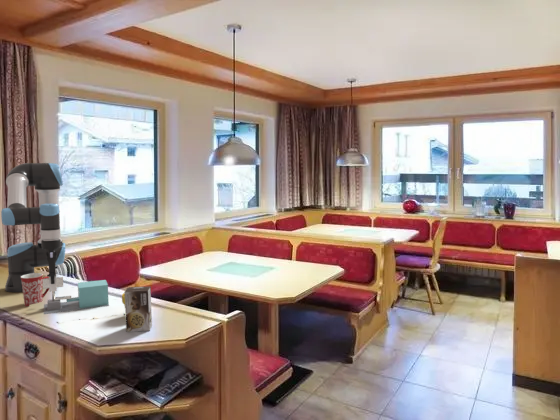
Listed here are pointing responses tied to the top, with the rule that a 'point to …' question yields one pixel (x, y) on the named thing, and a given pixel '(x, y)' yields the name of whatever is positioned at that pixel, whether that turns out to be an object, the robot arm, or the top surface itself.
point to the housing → (64, 306)
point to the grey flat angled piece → (59, 284)
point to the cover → (92, 294)
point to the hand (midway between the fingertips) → (53, 287)
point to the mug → (33, 288)
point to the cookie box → (138, 309)
